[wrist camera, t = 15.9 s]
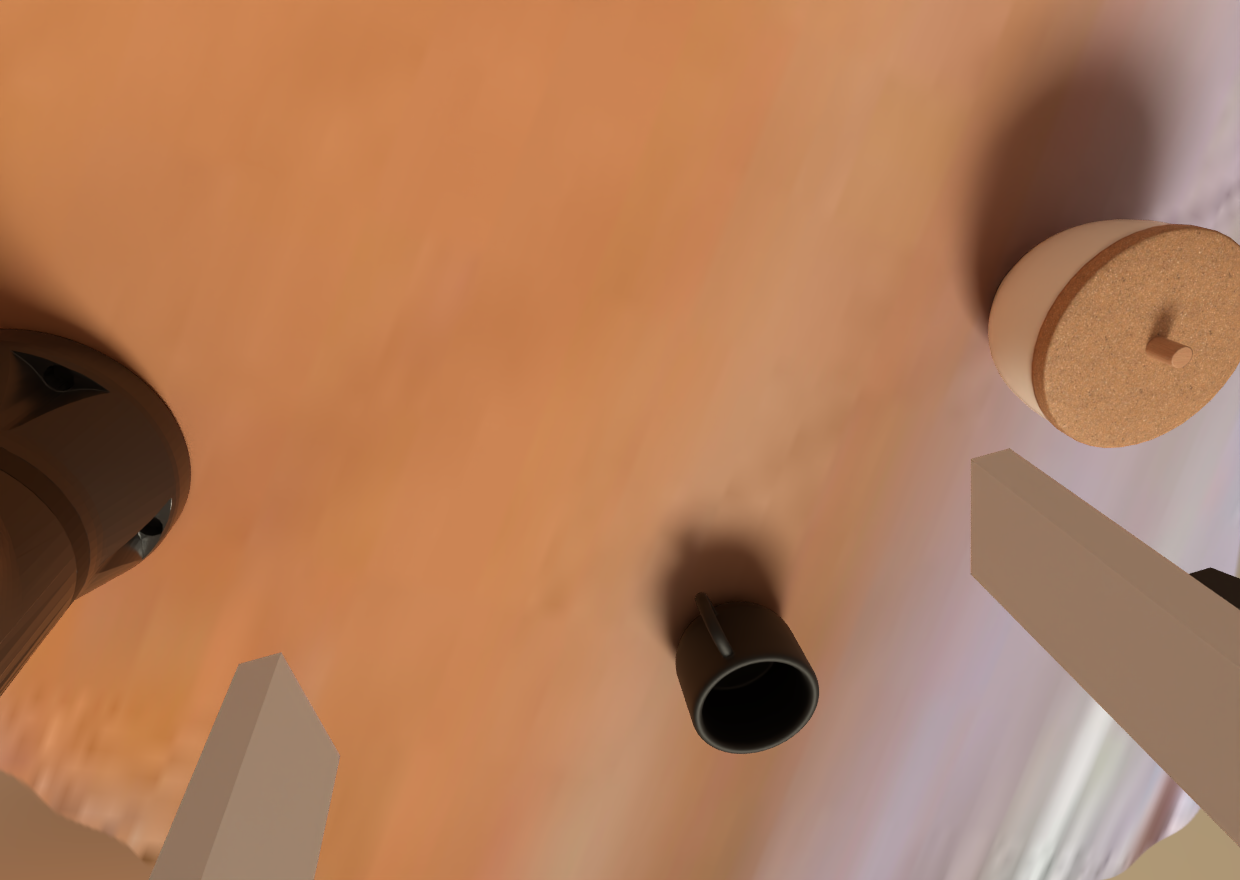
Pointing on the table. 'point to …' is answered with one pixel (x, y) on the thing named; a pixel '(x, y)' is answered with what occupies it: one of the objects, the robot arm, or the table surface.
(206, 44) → the table surface
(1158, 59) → the table surface
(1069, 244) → the lidded bowl
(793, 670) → the mug
